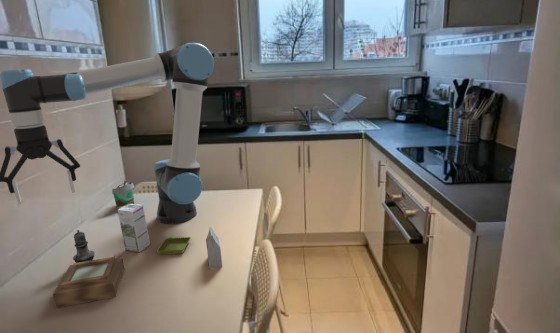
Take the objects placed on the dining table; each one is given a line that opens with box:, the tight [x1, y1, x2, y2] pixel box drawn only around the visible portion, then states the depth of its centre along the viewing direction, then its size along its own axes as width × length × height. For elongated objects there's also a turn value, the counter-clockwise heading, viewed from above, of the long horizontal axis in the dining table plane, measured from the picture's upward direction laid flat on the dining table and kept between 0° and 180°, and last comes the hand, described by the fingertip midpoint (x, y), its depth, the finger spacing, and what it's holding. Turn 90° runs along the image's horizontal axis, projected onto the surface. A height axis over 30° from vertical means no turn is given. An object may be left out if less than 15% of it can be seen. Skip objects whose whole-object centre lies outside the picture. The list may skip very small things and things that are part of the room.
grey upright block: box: [205, 227, 223, 269], centre depth 105 cm, size 4×7×10 cm, turn 14°
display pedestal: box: [52, 256, 126, 309], centre depth 97 cm, size 14×14×5 cm
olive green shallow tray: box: [156, 236, 192, 255], centre depth 116 cm, size 9×9×2 cm
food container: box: [111, 180, 135, 211], centre depth 155 cm, size 12×6×10 cm, turn 179°
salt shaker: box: [72, 229, 95, 263], centre depth 107 cm, size 6×6×12 cm
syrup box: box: [117, 203, 151, 253], centre depth 116 cm, size 6×6×14 cm
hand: (47, 197), depth 107 cm, fingers open, 13 cm apart
